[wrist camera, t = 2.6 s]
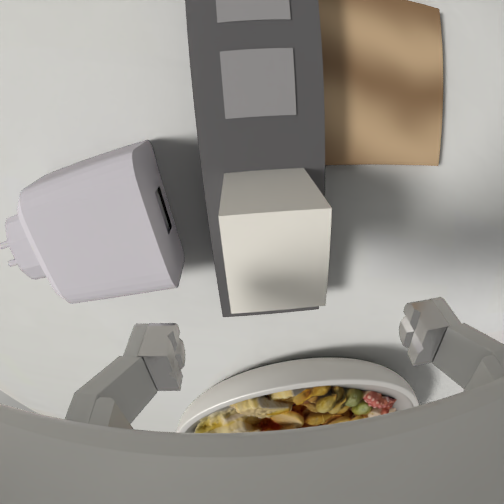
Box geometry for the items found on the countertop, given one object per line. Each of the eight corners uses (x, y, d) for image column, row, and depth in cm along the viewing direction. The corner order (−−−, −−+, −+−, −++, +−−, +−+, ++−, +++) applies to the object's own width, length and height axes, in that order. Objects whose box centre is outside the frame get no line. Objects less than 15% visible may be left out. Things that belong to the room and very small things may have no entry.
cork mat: (312, -11, 14) (315, -14, 14) (433, 10, 14) (439, 8, 14) (320, 162, 20) (323, 165, 20) (432, 162, 20) (438, 165, 20)
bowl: (184, 456, 43) (181, 498, 36) (170, 331, 28) (157, 402, 21) (358, 452, 46) (367, 489, 39) (445, 336, 31) (474, 386, 24)
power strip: (188, -74, 11) (179, -99, 8) (296, -79, 11) (307, -104, 8) (224, 292, 26) (222, 324, 22) (311, 285, 26) (320, 316, 22)
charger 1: (-1, 194, 20) (151, 137, 19) (40, 283, 25) (186, 255, 24) (-34, 218, 16) (129, 153, 15) (17, 315, 21) (177, 294, 20)
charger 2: (225, 166, 19) (218, 216, 12) (299, 161, 19) (331, 208, 12) (232, 239, 21) (231, 313, 15) (299, 233, 21) (325, 305, 15)
